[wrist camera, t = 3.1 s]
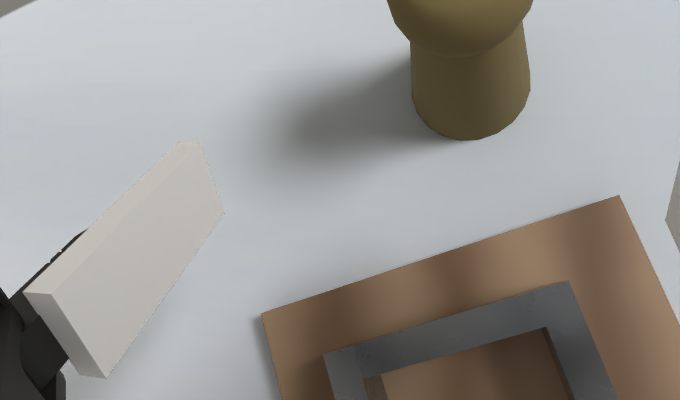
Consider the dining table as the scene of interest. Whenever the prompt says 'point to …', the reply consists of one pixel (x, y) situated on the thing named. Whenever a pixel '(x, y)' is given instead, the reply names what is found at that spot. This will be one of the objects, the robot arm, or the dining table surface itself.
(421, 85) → the cork
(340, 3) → the dining table surface
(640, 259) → the socket plate
